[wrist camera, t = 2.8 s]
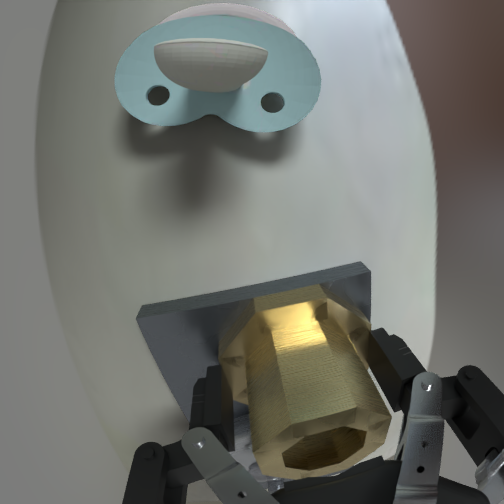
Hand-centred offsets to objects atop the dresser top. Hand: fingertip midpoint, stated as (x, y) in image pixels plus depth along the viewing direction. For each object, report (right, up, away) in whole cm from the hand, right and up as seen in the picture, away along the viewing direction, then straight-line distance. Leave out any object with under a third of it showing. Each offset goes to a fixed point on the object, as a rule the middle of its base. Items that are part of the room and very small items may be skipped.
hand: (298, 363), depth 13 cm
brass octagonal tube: (0, 0, +1) cm, 1 cm away
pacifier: (-3, +13, -2) cm, 14 cm away
